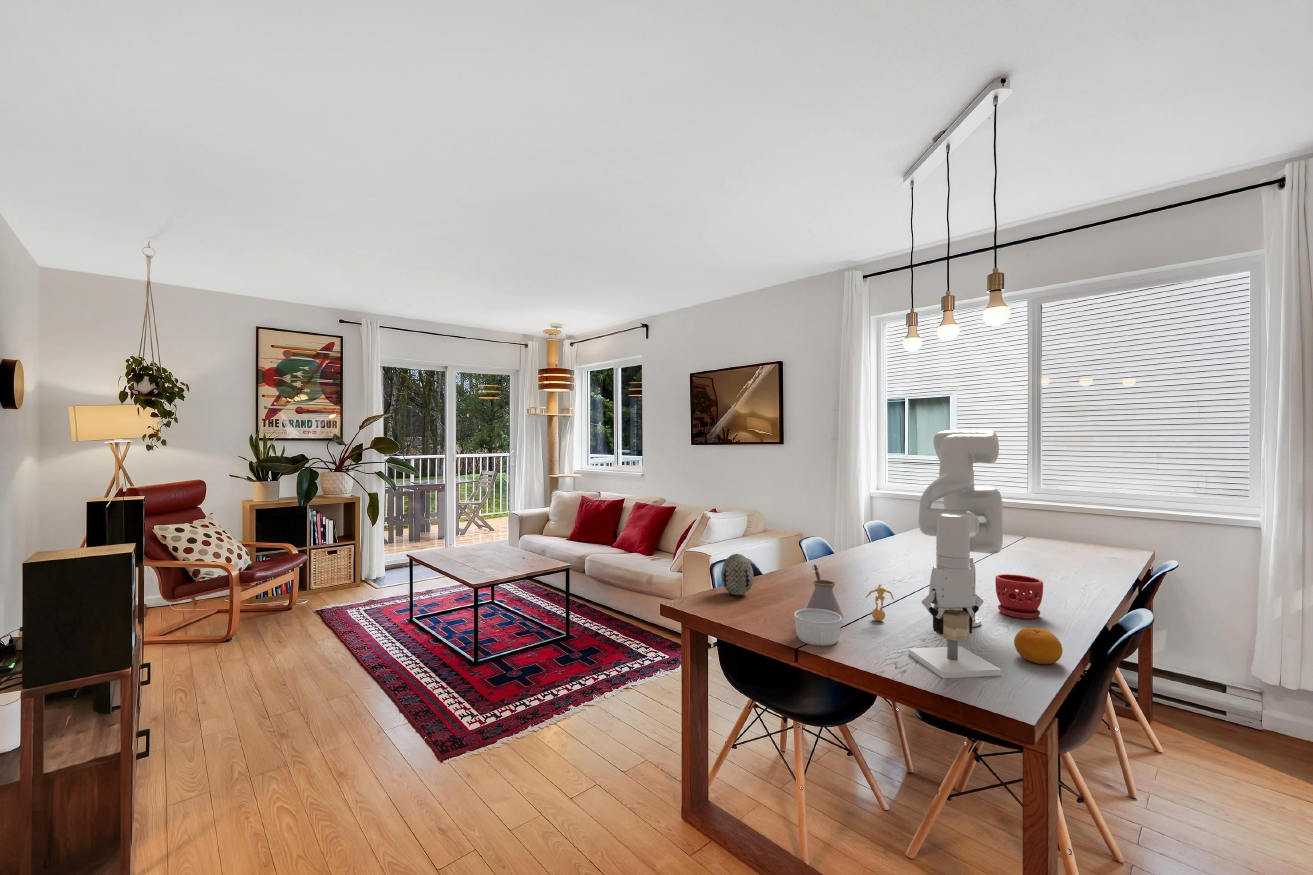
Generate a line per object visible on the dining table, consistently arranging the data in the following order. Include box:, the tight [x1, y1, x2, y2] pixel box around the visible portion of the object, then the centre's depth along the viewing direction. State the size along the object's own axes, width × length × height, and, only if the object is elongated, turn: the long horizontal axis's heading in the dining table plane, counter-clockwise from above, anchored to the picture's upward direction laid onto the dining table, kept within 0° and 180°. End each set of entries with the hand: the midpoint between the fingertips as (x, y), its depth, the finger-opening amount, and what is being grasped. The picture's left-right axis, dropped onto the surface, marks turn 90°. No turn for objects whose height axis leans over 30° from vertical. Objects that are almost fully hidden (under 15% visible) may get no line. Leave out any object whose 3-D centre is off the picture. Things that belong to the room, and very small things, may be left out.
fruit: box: [1013, 627, 1063, 665], centre depth 145 cm, size 10×10×8 cm
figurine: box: [865, 583, 895, 622], centre depth 175 cm, size 8×6×12 cm
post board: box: [907, 639, 1002, 679], centre depth 143 cm, size 15×15×10 cm
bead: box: [935, 608, 970, 642], centre depth 142 cm, size 7×7×6 cm
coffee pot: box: [805, 564, 844, 620], centre depth 178 cm, size 21×12×15 cm, turn 174°
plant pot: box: [994, 573, 1044, 620], centre depth 183 cm, size 13×13×12 cm
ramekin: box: [793, 608, 843, 647], centre depth 160 cm, size 13×13×7 cm
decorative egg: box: [720, 553, 755, 596], centre depth 205 cm, size 12×12×15 cm
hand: (952, 631), depth 143 cm, fingers closed on bead, 7 cm apart
